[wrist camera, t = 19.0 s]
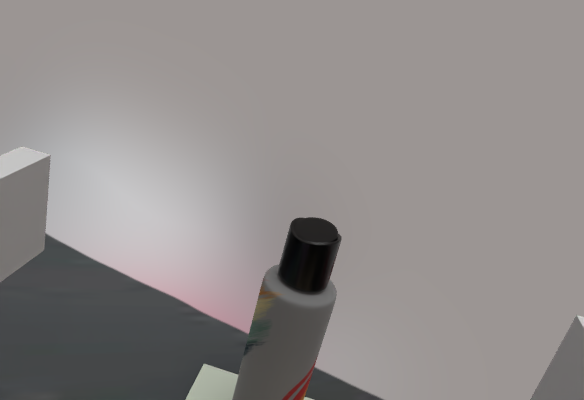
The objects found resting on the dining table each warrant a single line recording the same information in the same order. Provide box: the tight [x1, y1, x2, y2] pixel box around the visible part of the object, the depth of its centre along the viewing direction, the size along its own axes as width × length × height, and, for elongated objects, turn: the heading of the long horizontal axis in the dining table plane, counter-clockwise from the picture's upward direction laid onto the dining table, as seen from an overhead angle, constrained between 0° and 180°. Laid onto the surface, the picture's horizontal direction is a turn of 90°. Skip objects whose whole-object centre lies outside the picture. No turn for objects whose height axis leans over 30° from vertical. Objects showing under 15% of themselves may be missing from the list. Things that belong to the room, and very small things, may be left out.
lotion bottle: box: [232, 217, 341, 400], centre depth 43 cm, size 6×6×20 cm
